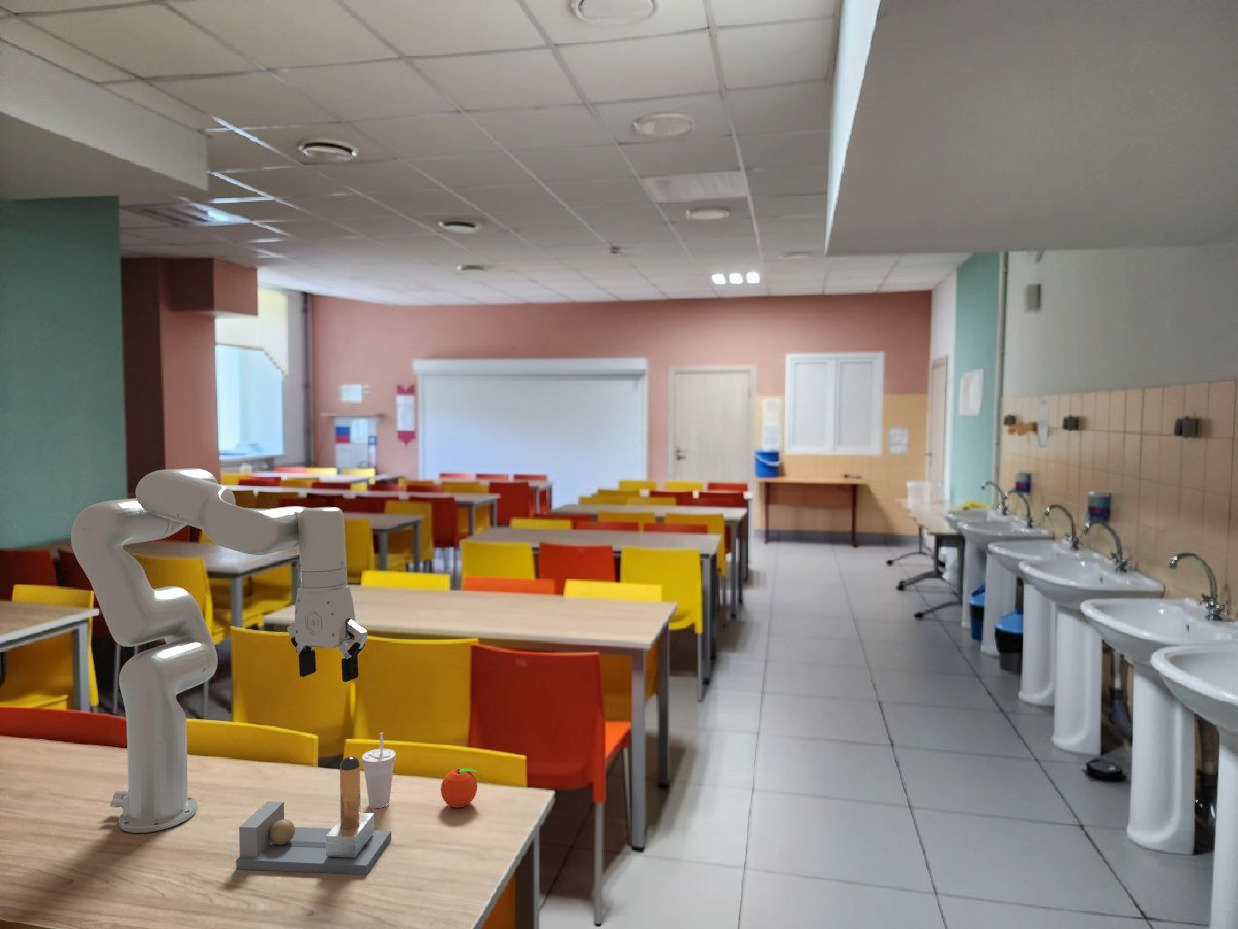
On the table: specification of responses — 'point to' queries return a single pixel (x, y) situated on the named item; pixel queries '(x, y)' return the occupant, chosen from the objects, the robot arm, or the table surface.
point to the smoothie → (379, 774)
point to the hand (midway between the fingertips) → (328, 677)
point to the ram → (350, 815)
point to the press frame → (298, 846)
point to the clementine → (459, 787)
